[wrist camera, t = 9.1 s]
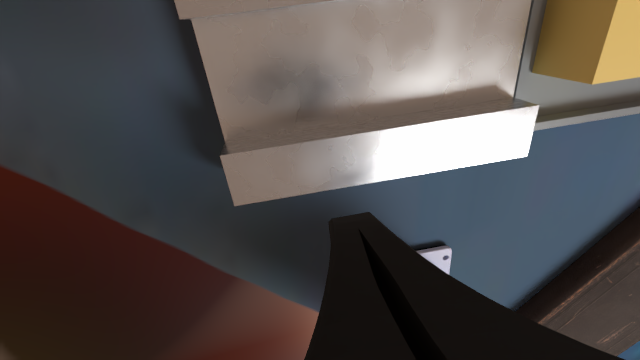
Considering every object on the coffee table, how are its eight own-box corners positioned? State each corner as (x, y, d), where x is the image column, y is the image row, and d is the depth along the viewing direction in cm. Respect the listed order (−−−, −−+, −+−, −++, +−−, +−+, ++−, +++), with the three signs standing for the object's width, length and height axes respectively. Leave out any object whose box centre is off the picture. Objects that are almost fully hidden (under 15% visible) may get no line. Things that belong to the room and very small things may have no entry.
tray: (653, 102, 22) (676, 107, 20) (493, 128, 21) (507, 134, 19) (736, -102, 16) (774, -112, 15) (528, -79, 15) (550, -88, 14)
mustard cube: (591, 63, 19) (663, 73, 16) (532, 72, 19) (591, 84, 15) (613, -11, 17) (701, -20, 14) (547, -3, 17) (620, -9, 13)
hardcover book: (746, 230, 31) (779, 244, 29) (565, 361, 38) (581, 380, 36) (686, 157, 25) (722, 169, 23) (486, 329, 32) (500, 349, 30)
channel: (488, 135, 21) (527, 156, 18) (240, 176, 20) (234, 206, 16) (525, -91, 15) (592, -120, 12) (178, -54, 14) (152, -76, 11)
